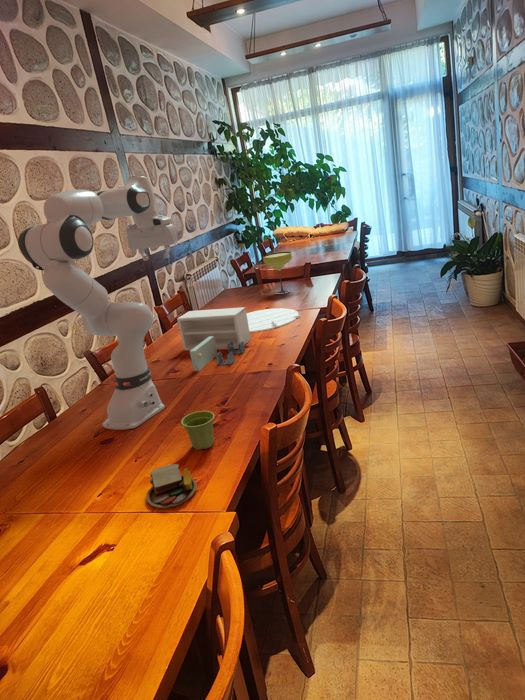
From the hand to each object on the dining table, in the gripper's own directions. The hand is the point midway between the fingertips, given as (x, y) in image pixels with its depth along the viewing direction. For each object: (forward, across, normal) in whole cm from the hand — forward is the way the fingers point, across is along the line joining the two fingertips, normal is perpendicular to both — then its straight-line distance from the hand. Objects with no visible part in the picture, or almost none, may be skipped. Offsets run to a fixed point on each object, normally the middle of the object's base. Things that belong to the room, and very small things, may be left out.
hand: (156, 258), depth 179 cm
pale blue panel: (+48, +5, +11) cm, 50 cm away
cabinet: (+48, 0, +33) cm, 58 cm away
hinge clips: (+48, +15, +16) cm, 53 cm away
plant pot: (+48, +36, -52) cm, 79 cm away
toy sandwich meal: (+48, +38, -74) cm, 96 cm away
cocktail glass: (+48, +2, +129) cm, 138 cm away
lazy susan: (+48, +10, +69) cm, 85 cm away
